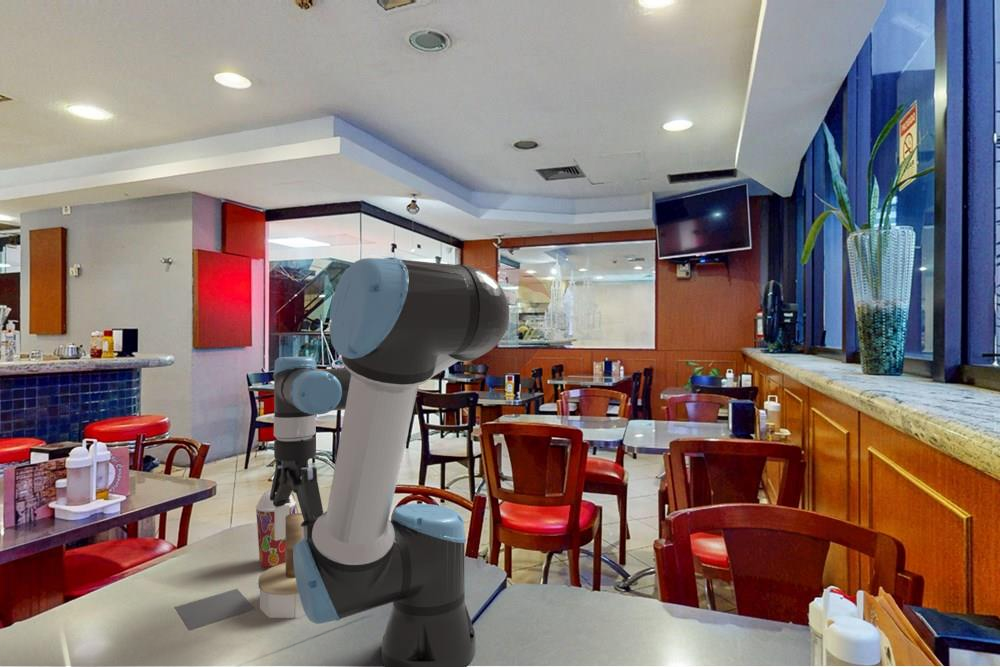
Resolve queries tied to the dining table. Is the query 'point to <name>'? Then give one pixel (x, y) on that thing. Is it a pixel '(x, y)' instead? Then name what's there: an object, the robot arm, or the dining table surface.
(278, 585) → the wooden peg stand
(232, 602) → the mat
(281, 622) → the dining table surface
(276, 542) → the smoothie
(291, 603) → the bowl
